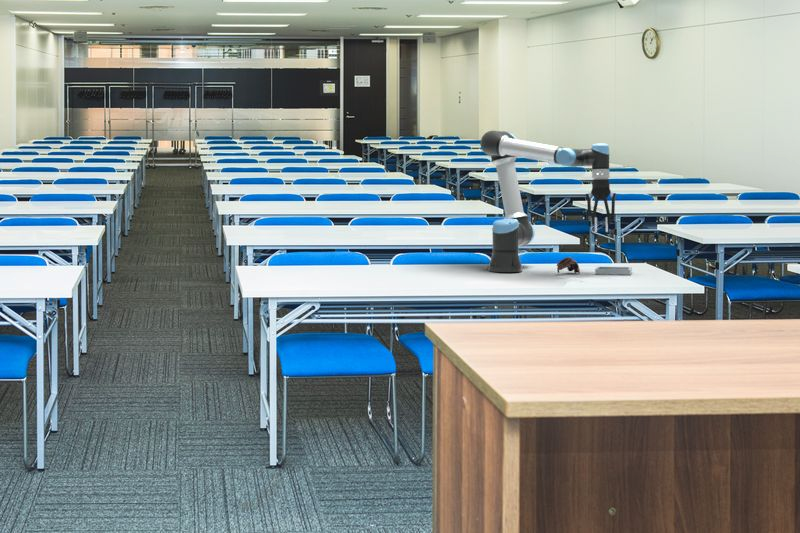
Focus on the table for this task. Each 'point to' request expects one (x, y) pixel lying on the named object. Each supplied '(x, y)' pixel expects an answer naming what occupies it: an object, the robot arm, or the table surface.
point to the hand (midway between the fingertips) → (601, 231)
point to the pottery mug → (568, 265)
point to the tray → (613, 271)
